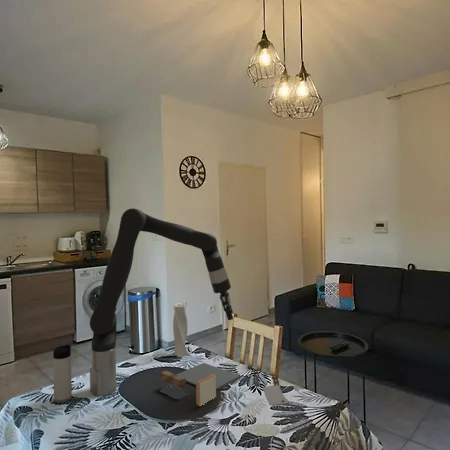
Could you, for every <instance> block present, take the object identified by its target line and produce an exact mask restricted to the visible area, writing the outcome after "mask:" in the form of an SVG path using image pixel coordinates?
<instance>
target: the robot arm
mask: <svg viewBox="0 0 450 450" xmlns="http://www.w3.org/2000/svg"><path fill="white" fill-rule="evenodd" d="M140 232H145V233H150V234H155V235H158V236H161V237H163V238H166V239H169V240H170V241H173V242H177V243H180V244H183V245H186V246H187V245H188V246H192V247H194V248H195V249H196V248H197V249H200V250H201V251H202V255H203V257H204V260H205V261H204V262H205V266H206V269H207V273H208V277H209V281H210V284H211V287H212V290H213V293H214V294H219V300H220V301H221V302H220V303H221V306H222V308H223V312H225V316H226V318H227V320H228V321H232V320H233V319H234V316H233V308H232V305H231V303H232V302H231V297H230V293H229V292H228V291H229V290H230V289H231V288H232V286H231V282H230V279H229V276H228V273H227V270H226V267H225V265H224V261H223V258H222V256H221V253H220V251H219V248H218V241H217V238H216V236H214V234H211V233H207V232H204V231H203V232H202V231H199V230H195V229H194V228H191V227H188V226H185V225H182V224H178V223H173V222H169V221H165V220H163V219H160V218H156V217H153V216H152V215H149V214H148V213H145V212H143V211H142V210H140V209H138V208H128V209H126V210H125V211H124V212H123V213H122V214H121V217H120V224H119V228H118V233H117V236H116V237H117V238H116V241H115V244H114V246H113V249H112V250H111V253H110V257H109V258H108V263H107V265H106V269H105V272H104V276H103V279H102V284H101V288H100V294H99V297H98V300H97V301H96V305H95V307H94V309H93V311H92V312H93V313H92V314H91V316H90V319H89V326H90V330H91V331H92V332H93V333H92V340H91V367H90V368H89V391H90V393H92V394H93V395H95V396H96V397H100V396H105V395H106V396H107V395H111V394H112V393H114V392H115V391H116V390H117V354H116V353H117V348H116V347H117V346H116V345H117V344H116V343H117V313H116V309H117V306H118V303H119V300H120V298H121V296H122V293H123V291H124V290H125V289H124V288H125V287H126V285H127V281H128V279H129V275H130V273H131V269H132V265H133V262H134V261H133V259H134V253H135V246H136V243H137V239H138V237H139V235H140Z"/></svg>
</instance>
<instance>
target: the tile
mask: <svg viewBox="0 0 450 450" xmlns="http://www.w3.org/2000/svg"><path fill="white" fill-rule="evenodd" d="M195 388H196V389H195V396H196V397H195V398H196V399H195V400H196V401H195V402H196V404H197V405H198V406H201V407H202V405H203V406H204V405H206V404H208V403H209V402H208V401H210V400H212V399H213V400H215V399H216V398H217V391H216V375H215V374H211V375H209V376H207V377H205V378H203V379H201V380H199V381H197V382H196V387H195ZM215 397H216V398H215ZM214 398H215V399H214ZM213 400H212V401H213ZM207 402H208V403H207ZM210 402H211V401H210ZM205 403H206V404H205ZM196 404H195V405H196ZM198 406H197V407H198Z"/></svg>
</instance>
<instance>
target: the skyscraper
mask: <svg viewBox="0 0 450 450" xmlns="http://www.w3.org/2000/svg"><path fill="white" fill-rule="evenodd" d="M187 305H188V304H187V301H185V300H184V301H183V302H178V303H177V302H175V303H174V304H173V305H172V307H173V311H174V314H173V321H172V323H173V324H172V328H173V329H172V330H173V339H174V345H175V346H174V351H173V352H172V355H174V356H176V358H182V357H187V356H191V353H190V352H188V351H187V347H186V342H187V338H188V337H187V335H188V318H187V314H186V309H187Z"/></svg>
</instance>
